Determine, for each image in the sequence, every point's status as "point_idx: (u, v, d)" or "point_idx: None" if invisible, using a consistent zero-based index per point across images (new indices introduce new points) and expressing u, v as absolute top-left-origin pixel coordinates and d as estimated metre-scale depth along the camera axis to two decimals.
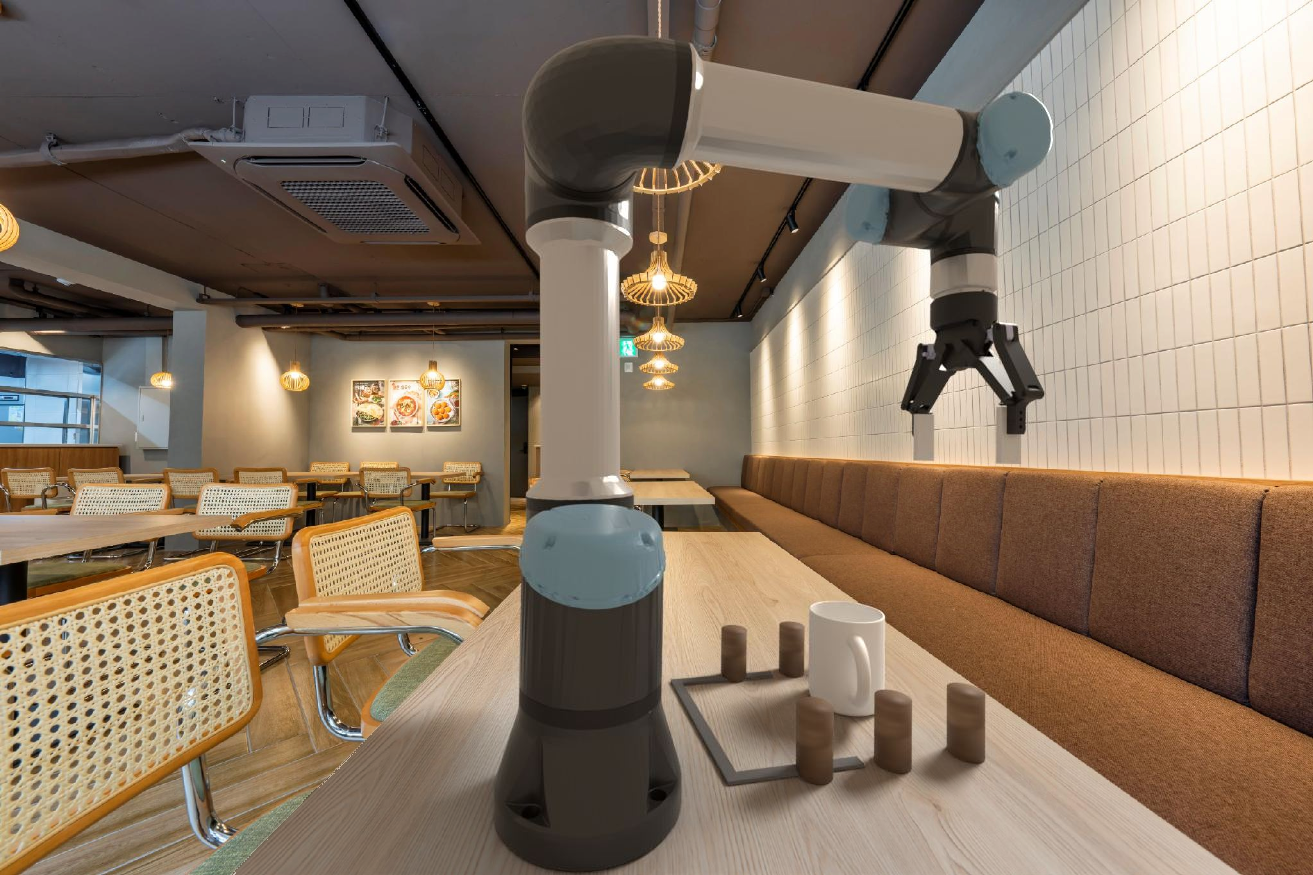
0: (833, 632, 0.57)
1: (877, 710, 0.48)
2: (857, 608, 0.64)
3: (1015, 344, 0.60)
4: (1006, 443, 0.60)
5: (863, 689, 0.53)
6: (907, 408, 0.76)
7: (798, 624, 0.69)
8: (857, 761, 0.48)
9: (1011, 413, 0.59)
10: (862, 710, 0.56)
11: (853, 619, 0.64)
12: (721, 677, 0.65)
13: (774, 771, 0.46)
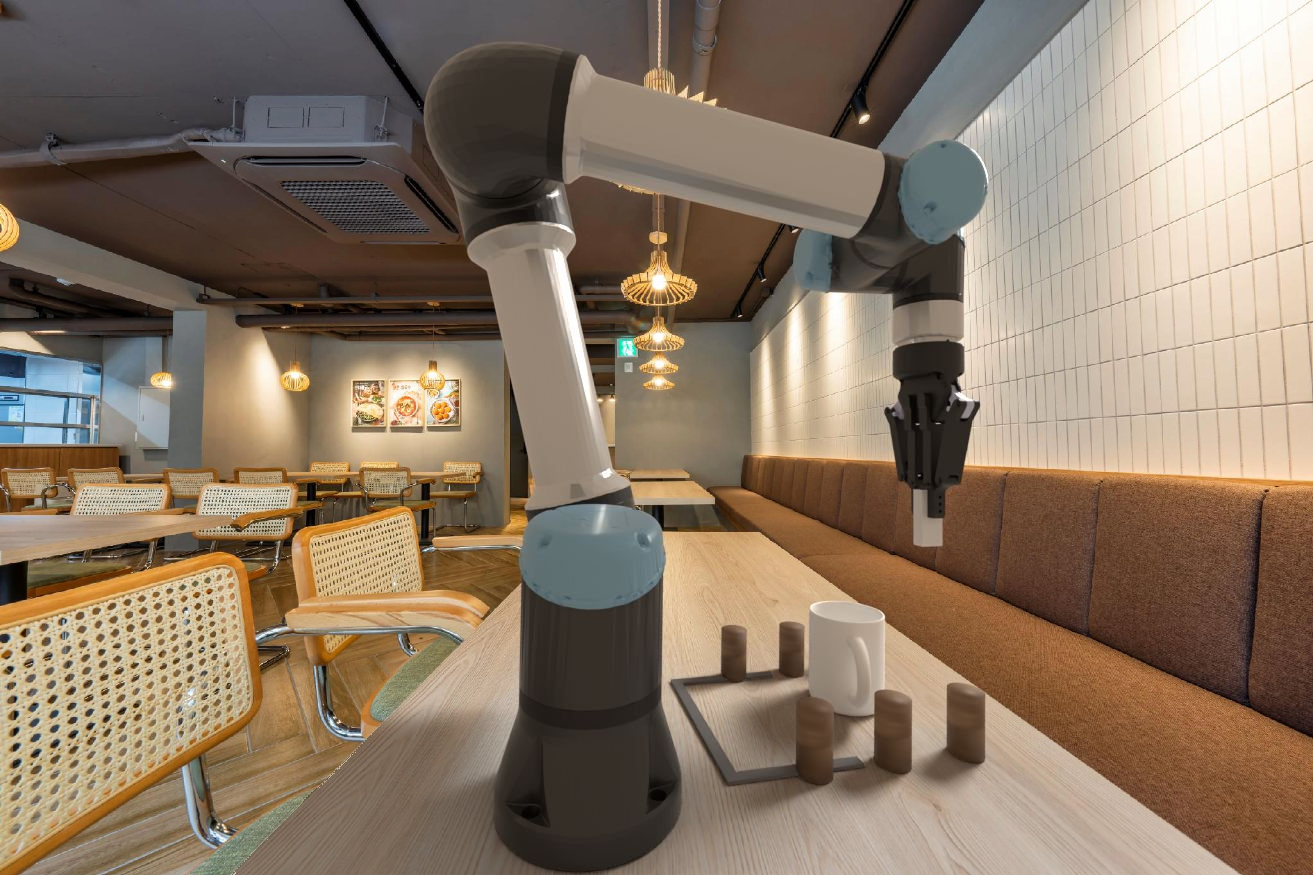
0: (833, 632, 0.57)
1: (877, 710, 0.48)
2: (857, 608, 0.64)
3: (965, 425, 0.56)
4: (927, 526, 0.60)
5: (863, 689, 0.53)
6: (905, 480, 0.64)
7: (798, 624, 0.69)
8: (857, 761, 0.48)
9: (931, 497, 0.60)
10: (862, 710, 0.56)
11: (853, 619, 0.64)
12: (721, 677, 0.65)
13: (774, 771, 0.46)
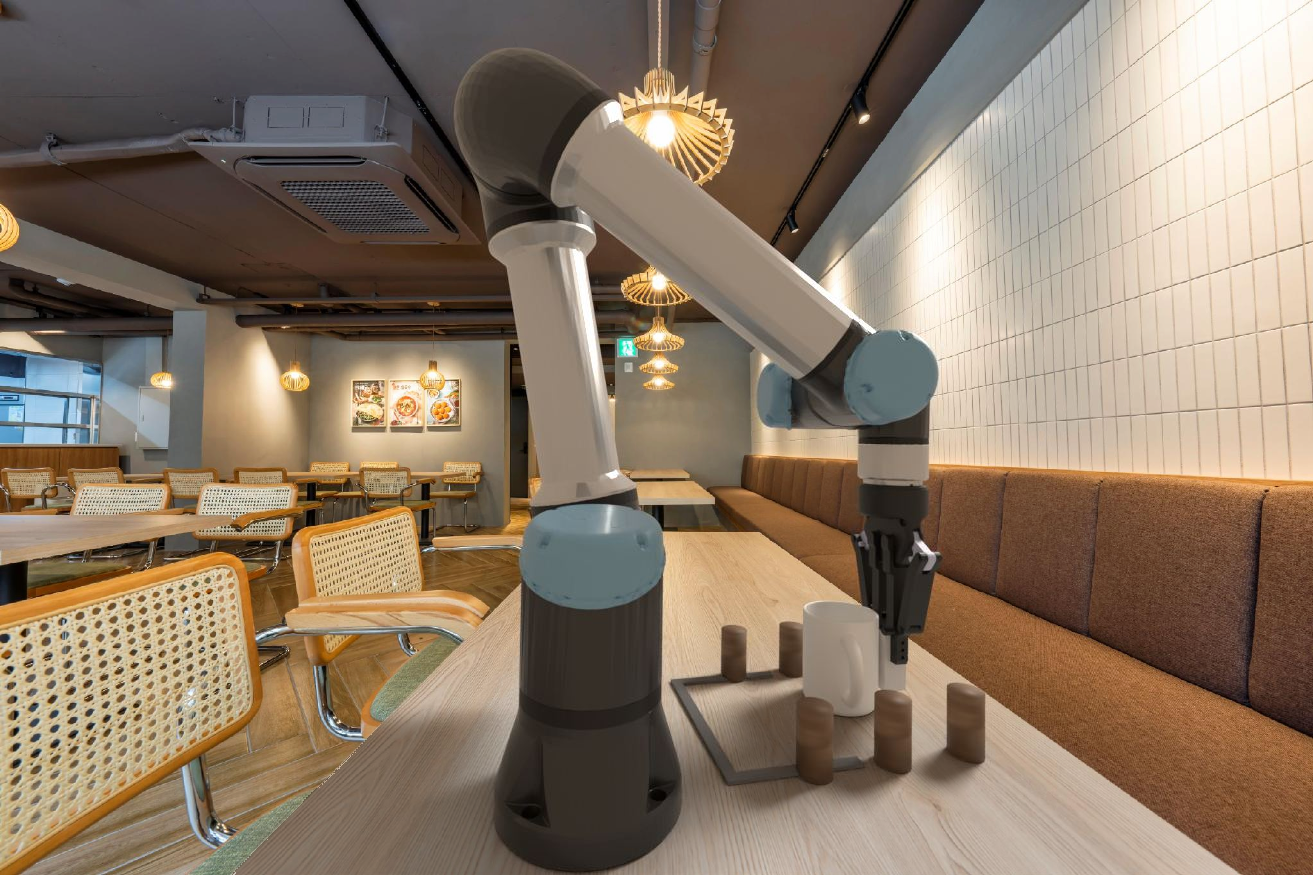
0: (827, 632, 0.57)
1: (877, 710, 0.48)
2: (851, 607, 0.64)
3: (927, 577, 0.55)
4: (890, 671, 0.59)
5: (856, 689, 0.53)
6: None
7: (798, 624, 0.69)
8: (857, 761, 0.48)
9: (894, 642, 0.58)
10: (856, 710, 0.56)
11: (847, 619, 0.64)
12: (721, 677, 0.65)
13: (774, 771, 0.46)
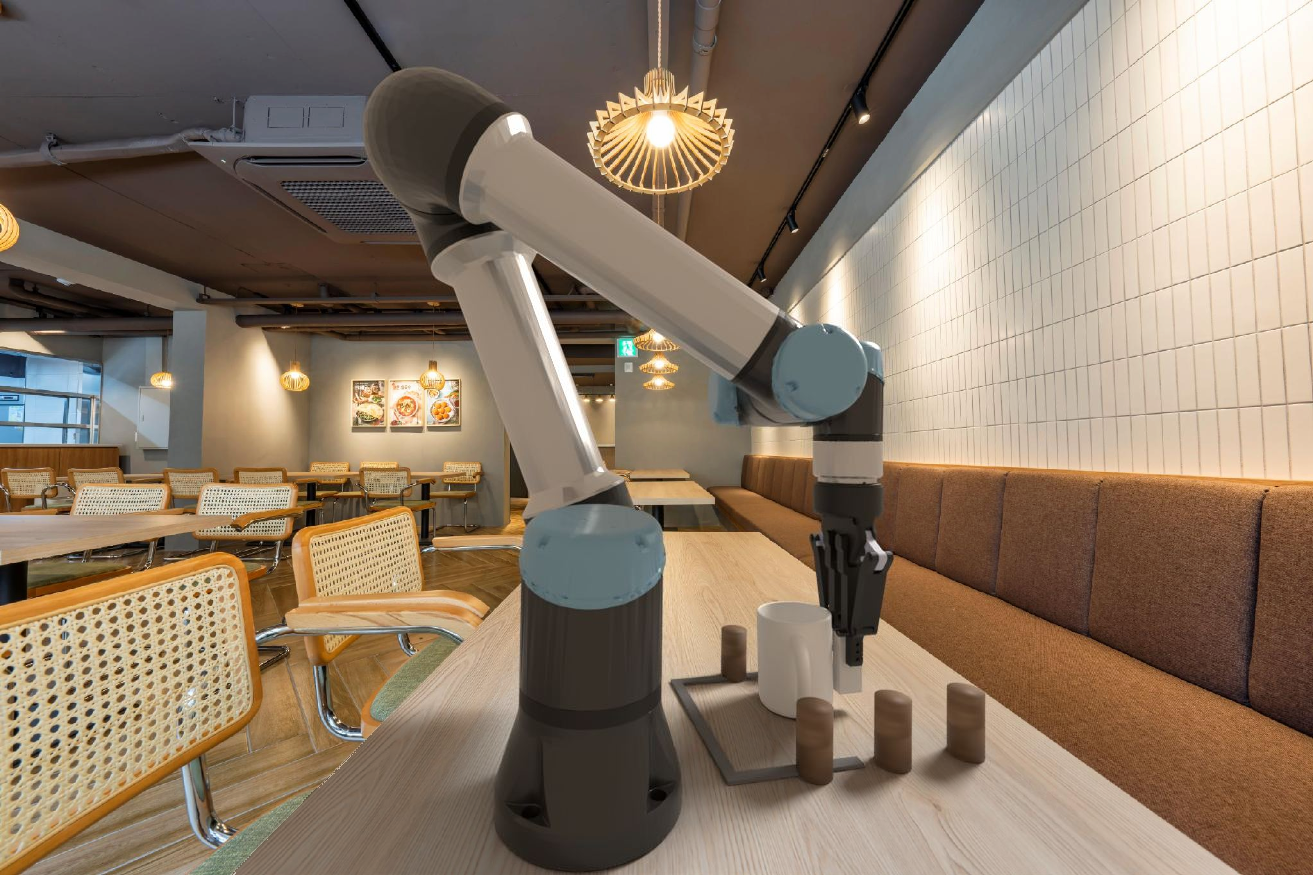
0: (777, 633, 0.56)
1: (877, 710, 0.48)
2: (807, 608, 0.63)
3: (879, 577, 0.54)
4: (845, 673, 0.58)
5: (802, 691, 0.52)
6: None
7: None
8: (857, 761, 0.48)
9: (848, 643, 0.57)
10: None
11: (805, 619, 0.63)
12: (721, 677, 0.65)
13: (774, 771, 0.46)
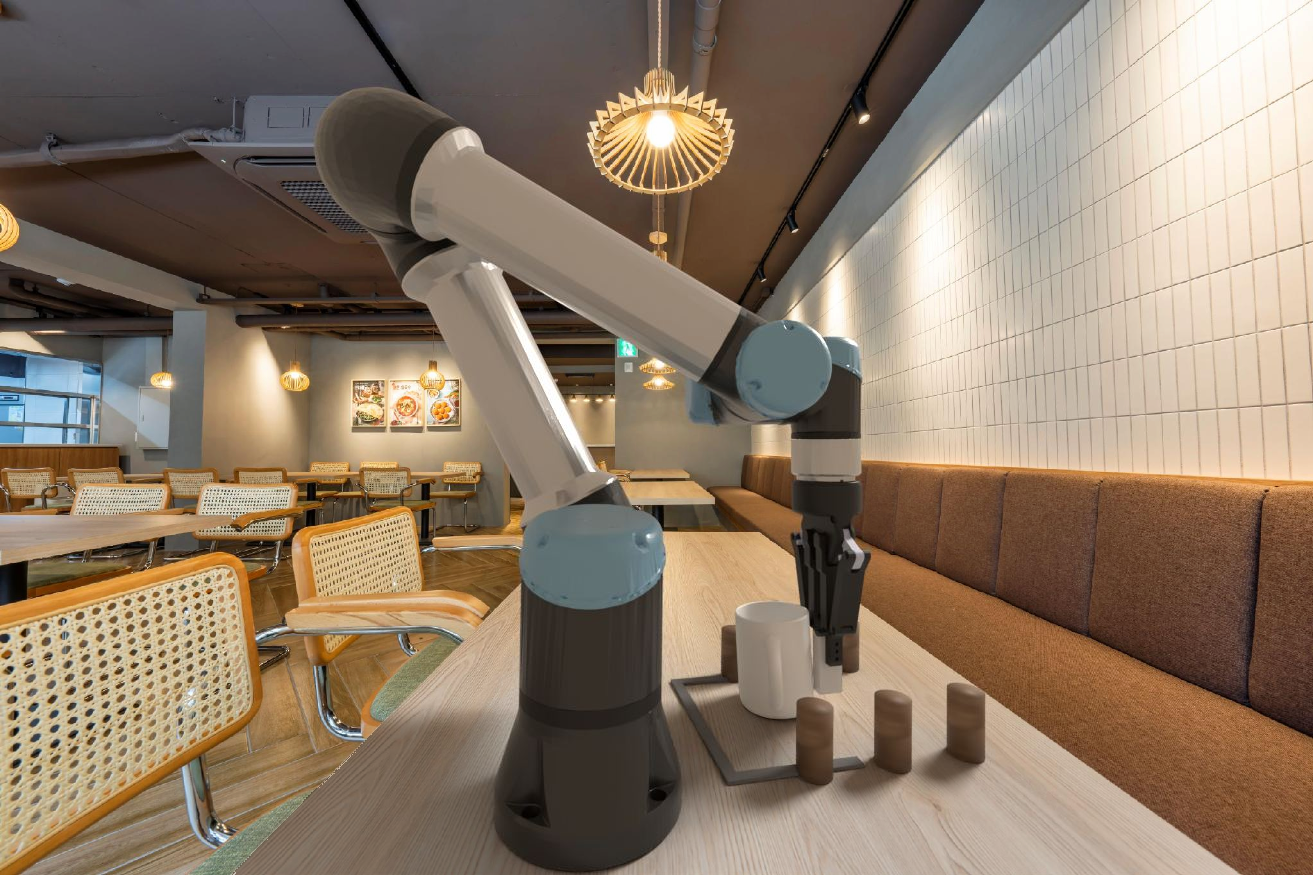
0: (751, 633, 0.56)
1: (877, 710, 0.48)
2: (788, 607, 0.62)
3: (857, 576, 0.53)
4: (825, 673, 0.57)
5: (773, 691, 0.52)
6: None
7: None
8: (857, 761, 0.48)
9: (828, 643, 0.57)
10: (784, 712, 0.55)
11: (786, 619, 0.62)
12: (721, 677, 0.65)
13: (774, 771, 0.46)
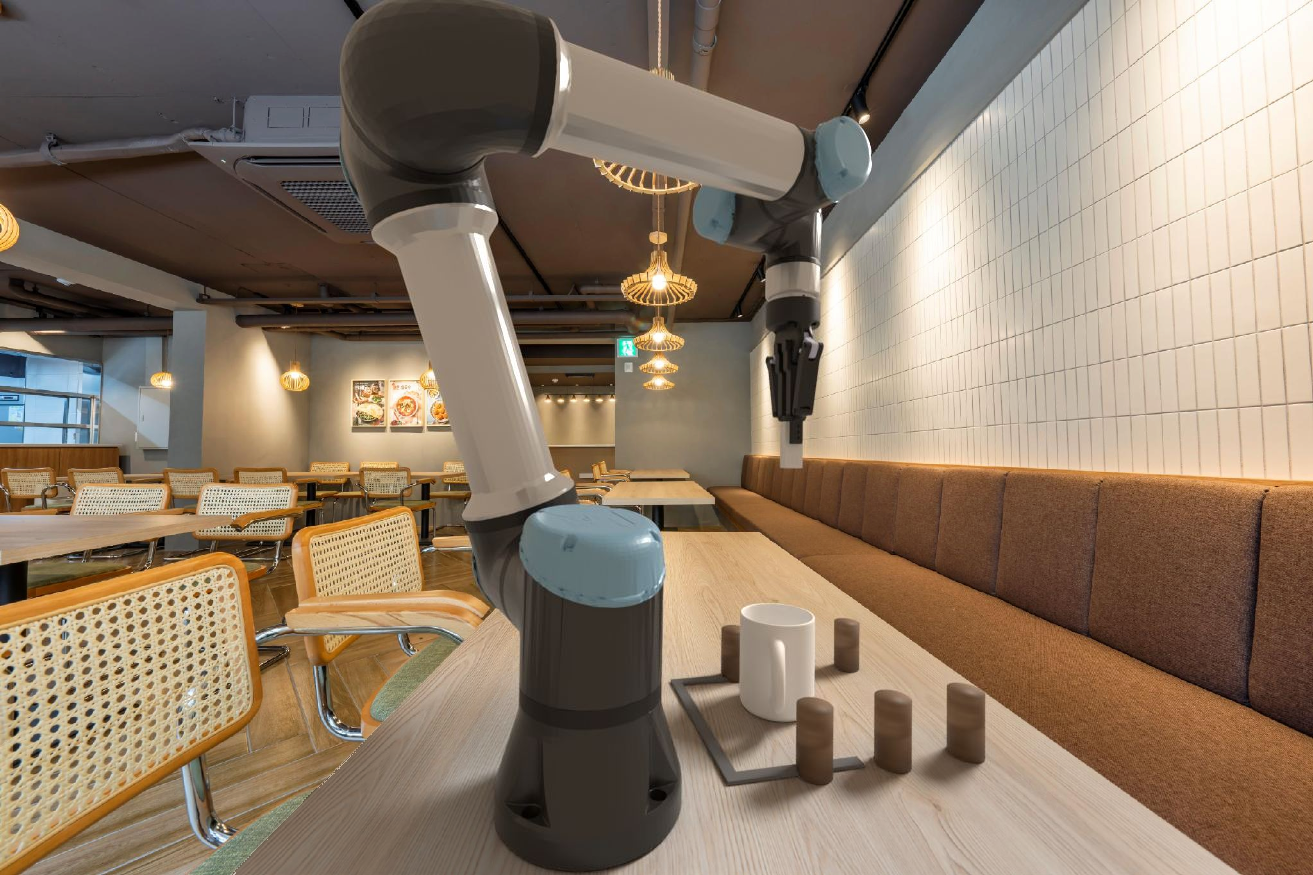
0: (756, 634, 0.56)
1: (877, 710, 0.48)
2: (794, 611, 0.62)
3: (813, 364, 0.69)
4: (789, 451, 0.72)
5: (776, 693, 0.52)
6: (777, 415, 0.76)
7: None
8: (857, 761, 0.48)
9: (791, 426, 0.72)
10: (784, 715, 0.55)
11: (791, 622, 0.62)
12: (721, 677, 0.65)
13: (774, 771, 0.46)
